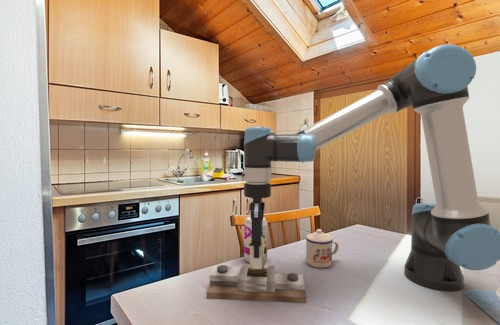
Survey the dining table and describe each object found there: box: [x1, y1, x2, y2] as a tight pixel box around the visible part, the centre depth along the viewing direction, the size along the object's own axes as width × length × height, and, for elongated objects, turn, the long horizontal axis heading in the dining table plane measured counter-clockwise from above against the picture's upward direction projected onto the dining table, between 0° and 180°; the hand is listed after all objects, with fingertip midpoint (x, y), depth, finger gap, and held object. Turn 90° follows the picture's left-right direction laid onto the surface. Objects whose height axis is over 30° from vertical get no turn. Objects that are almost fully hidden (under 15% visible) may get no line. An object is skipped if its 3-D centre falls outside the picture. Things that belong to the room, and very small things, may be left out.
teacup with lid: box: [305, 228, 340, 269], centre depth 95 cm, size 12×9×12 cm
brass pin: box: [249, 236, 265, 277], centre depth 77 cm, size 4×4×12 cm
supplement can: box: [243, 215, 268, 264], centre depth 97 cm, size 8×8×15 cm
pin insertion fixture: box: [206, 263, 307, 304], centre depth 78 cm, size 26×13×6 cm, turn 85°
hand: (257, 264), depth 77 cm, fingers closed on brass pin, 4 cm apart
